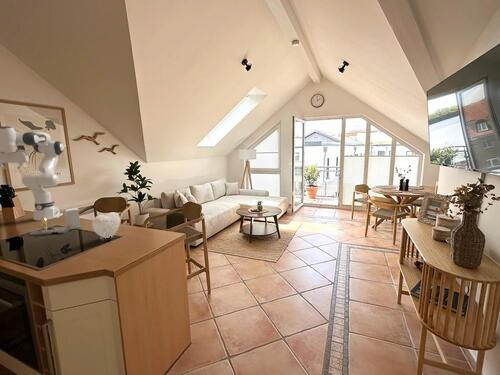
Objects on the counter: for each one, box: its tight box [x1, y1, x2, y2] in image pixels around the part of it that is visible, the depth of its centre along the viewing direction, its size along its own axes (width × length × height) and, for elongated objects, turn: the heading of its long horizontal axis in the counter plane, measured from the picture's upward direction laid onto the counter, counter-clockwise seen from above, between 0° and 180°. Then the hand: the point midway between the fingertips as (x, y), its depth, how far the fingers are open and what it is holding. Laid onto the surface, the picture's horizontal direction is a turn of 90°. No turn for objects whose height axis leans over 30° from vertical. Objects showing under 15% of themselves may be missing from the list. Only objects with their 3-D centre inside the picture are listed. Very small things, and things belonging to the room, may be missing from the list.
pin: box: [40, 217, 49, 230], centre depth 179 cm, size 3×3×9 cm
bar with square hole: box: [28, 226, 70, 236], centre depth 173 cm, size 7×22×3 cm, turn 99°
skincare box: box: [64, 207, 81, 231], centre depth 183 cm, size 8×6×15 cm
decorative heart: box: [91, 211, 121, 240], centre depth 161 cm, size 18×11×17 cm, turn 157°
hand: (11, 169), depth 174 cm, fingers open, 8 cm apart
